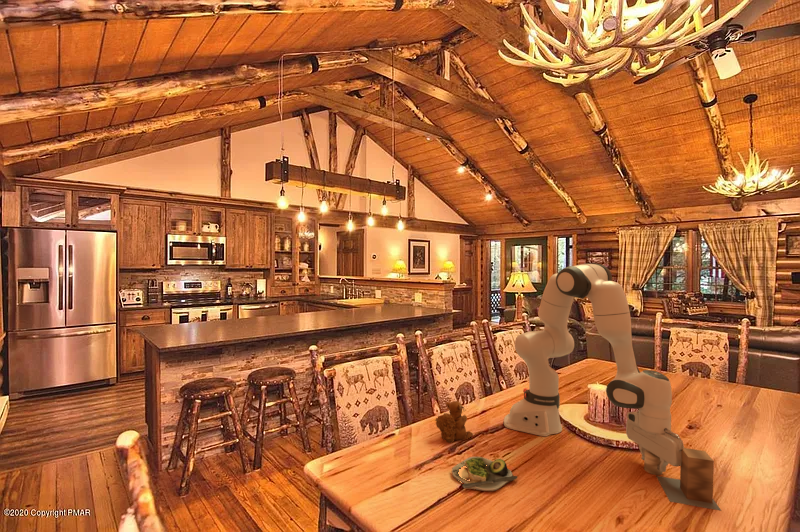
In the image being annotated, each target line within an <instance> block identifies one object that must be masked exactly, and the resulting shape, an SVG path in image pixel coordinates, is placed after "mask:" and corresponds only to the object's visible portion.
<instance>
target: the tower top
mask: <svg viewBox="0 0 800 532" xmlns="http://www.w3.org/2000/svg"><path fill="white" fill-rule="evenodd" d="M681 457H682V463H681V466H680V468H681V469H682V470H683V472H684V473H685V475H686V476H687V478H691V479H697V480H703V481H709V482H713V483H714V464H715V463H714V462H715V460H714V459H713V458H712V457H711V456H710V455H709V453H708V452H707V451H706V450H701V449H700V450H699V449H695V448H687V447H684V448H683V449H682V450H681Z"/></svg>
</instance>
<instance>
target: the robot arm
mask: <svg viewBox="0 0 800 532" xmlns="http://www.w3.org/2000/svg"><path fill="white" fill-rule="evenodd" d="M542 293H543V294H542V296H541V299H540V300H541V301H540V303H539V308H538V311H537V315H538V319H540V321H541V322H542V323H543V324H544V326H543V327H544V328H543V329H542V330H533V331H527V332H523V333H521V334H520V333H519V335H517V337H515V340H514V350H515V353H517V355H518V356H519V357H520V358H521V359H522V360H524V361H523V362H525V365H526V366H527V368H528V369H527V370H528V377H529V380H528V381H529V389H528V387H524V388H523V389H522V391H523V398H522V399H521V400H519V401H516V402H515V403H513V404H512V405H511V408H510V411H509V413H508V414H506V415H505V416H504V417H503V425H504V427H505V428H507V429H511V430H514V431H517V432H518V431H519V432H522V433H527V434H531V435H536V436H540V437H548V436H549V435H553V434H554V435H555V434H559V433H561V432H562V431H563V427H562V424H561V423H562V422H561V419H560V410H559V409H560V403H561V402H560V401H561V399H560V397H561V395H560V393H559V379H560V377H559V374H558V372H557V371H556V370H555V369H554V368H552V367H550V362H549V359H551V358H552V359H554V358H561V357H565V356H568V355H569V354H572V352H573V351H574V348H575V339H574V338H573V335H572V334H571V333H570V332H569V329H568V320H569V316H570V313H571V309H572V307H573V306H572V305H573V302H574V299H575V298H577V299H581V300H582V299H585V298H587V299H588V300H589V301H590V303H591V307H592V313H593V319H594V325H595V327H596V330H597V333H598V335H600V336H601V337H602V338H604V340H606V341H607V342H608V343H610V345H611V347H612V351H613V354H614V361H615V364H616V374H615V377H614V378H613V379H611V380H610V381H609V382H608V383H607V386H606V387H605V391H606V393H605V394H606V397H607V399H608V400H609V401H610V402H611V403H612V404H613V405H614V406H616V407H619V408H621V409H622V408H623V409H638V411H629V412H626V419H627V420H626V423H625V425H626V426H625V427H626V429H625V434H626V437H627V439H628V440H630V441H632V442H633V443H635V444H637V445H638V449H639V452H640V454H641V459H642V461H644V455H645V450H648V451H650V452H651V453H653V454H655V455H656V456H658V457H660V461H662V462H661V463H660V464H657V469H658V470H659V471H661V472H663V473H665V472H666V470H667V466H668V465H671V466H672V467H681V463H682V457H681V450H682V449H683V448H685V447H684V442H683V441H684V440H682V438H681V437H680V435H679V434H677V433H675V432H673V431H672V413H671V407H672V402H673V401H672V400H673V394H672V385H671V380H670V379H669V378H668V377H667V376H666V375H664V374H663V373H661V372H659V371H655V370H650V369H644V370H642V371H640V370H639V367H638V364H637V363H638V362H637V359H636V354H635V350H634V344H633V340H632V339H633V338H632V317H631V311H630V307H629V303H628V299H627V296H626V293H625V291H624V288H623V286H622V284H620V283H618V282H616V281H613V276H612V272H611V270H610V269H609V268H608V267H607V266H606V265H603V264H600V263H581V264H576V265H569V266H567V267H563V268H562V269H560V270H559V271H558V272H556V273H554V274H552V275H551V276H550V277H549V279H548V281H547V283H546V286H545V288H544V290H543V292H542Z"/></svg>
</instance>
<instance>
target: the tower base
mask: <svg viewBox="0 0 800 532" xmlns="http://www.w3.org/2000/svg"><path fill="white" fill-rule="evenodd" d="M679 471H680V474H679V477H680V478H679V480H680V488H681V490H682V491H683V493H684V495H685V496H686V498H687V499H690V500H696V501H702V502H707V503H713V500H714V481H713V482H709V481H703V480H697V479H691V478H687V476H686V475H685V473H684V472H683V470H682V469H681V467H680V470H679Z"/></svg>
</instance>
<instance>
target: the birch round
mask: <svg viewBox="0 0 800 532" xmlns="http://www.w3.org/2000/svg"><path fill="white" fill-rule="evenodd" d="M661 462H662V461H660V457H658V456H656V455H655V454H653V453H651V452H650V451H648V450H645V455H644V460H643V464H644V465H643V468H644V469H643V470H644V472H646V473H648V474H650V475H654V476H662V475H663V473H664V472H661V471H659V470H658V469H657V464H660V463H661Z"/></svg>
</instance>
